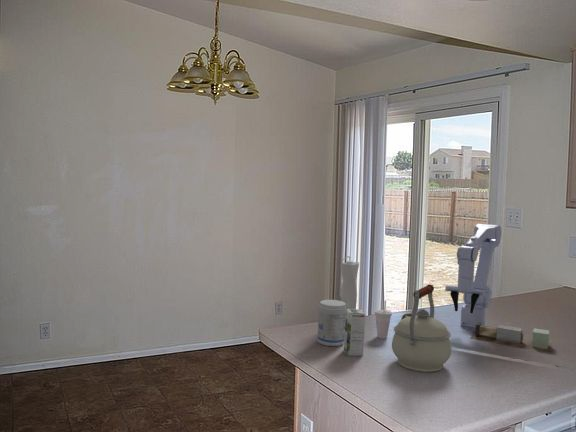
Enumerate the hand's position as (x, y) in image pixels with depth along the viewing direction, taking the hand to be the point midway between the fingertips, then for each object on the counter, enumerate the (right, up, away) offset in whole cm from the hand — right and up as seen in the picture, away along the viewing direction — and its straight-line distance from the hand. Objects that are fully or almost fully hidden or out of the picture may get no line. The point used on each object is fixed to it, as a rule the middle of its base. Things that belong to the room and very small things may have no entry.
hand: (463, 311), depth 194 cm
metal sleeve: (+14, -9, -8) cm, 19 cm away
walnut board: (+14, -10, -8) cm, 19 cm away
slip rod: (+12, -9, -6) cm, 16 cm away
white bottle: (-45, -8, +8) cm, 46 cm away
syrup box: (-46, -9, -25) cm, 54 cm away
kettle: (-25, -11, -33) cm, 42 cm away
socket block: (+23, -10, -13) cm, 28 cm away
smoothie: (-33, -9, -5) cm, 34 cm away
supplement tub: (-53, -9, -15) cm, 56 cm away
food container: (-21, -10, -10) cm, 25 cm away
